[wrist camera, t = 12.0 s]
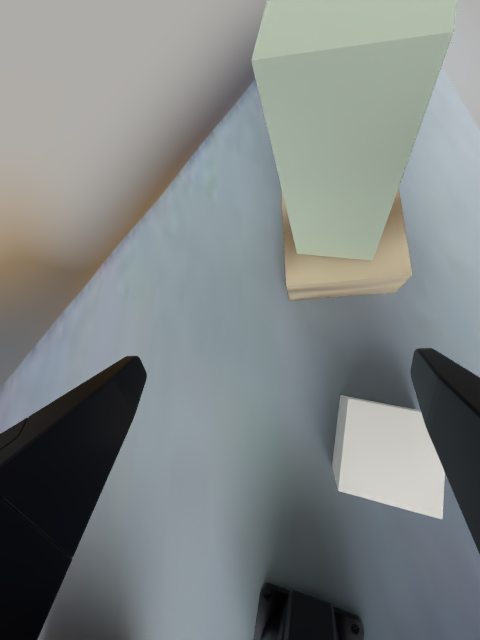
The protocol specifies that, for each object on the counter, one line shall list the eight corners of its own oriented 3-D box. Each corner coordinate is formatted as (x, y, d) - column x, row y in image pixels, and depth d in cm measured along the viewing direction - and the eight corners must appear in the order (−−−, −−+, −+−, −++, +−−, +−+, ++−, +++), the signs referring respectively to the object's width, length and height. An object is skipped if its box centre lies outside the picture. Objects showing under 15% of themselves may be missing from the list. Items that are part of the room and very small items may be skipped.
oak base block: (394, 293, 22) (412, 274, 18) (290, 301, 24) (286, 286, 20) (382, 201, 24) (395, 167, 20) (285, 216, 26) (281, 187, 22)
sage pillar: (372, 260, 19) (453, 31, 7) (297, 253, 20) (251, 60, 8) (383, 192, 20) (474, -124, 7) (310, 191, 21) (285, -70, 9)
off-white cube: (409, 485, 19) (442, 519, 14) (331, 465, 20) (337, 490, 16) (415, 409, 20) (447, 417, 15) (340, 395, 21) (348, 398, 16)
